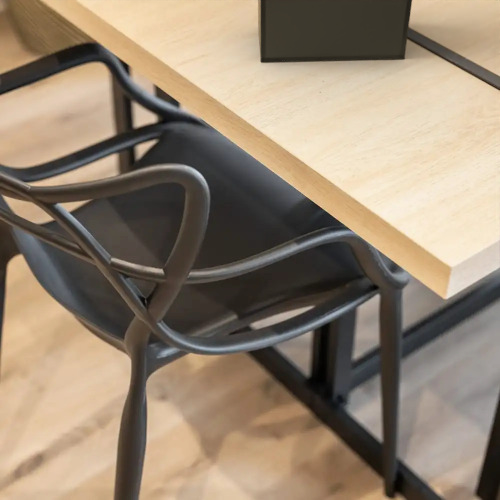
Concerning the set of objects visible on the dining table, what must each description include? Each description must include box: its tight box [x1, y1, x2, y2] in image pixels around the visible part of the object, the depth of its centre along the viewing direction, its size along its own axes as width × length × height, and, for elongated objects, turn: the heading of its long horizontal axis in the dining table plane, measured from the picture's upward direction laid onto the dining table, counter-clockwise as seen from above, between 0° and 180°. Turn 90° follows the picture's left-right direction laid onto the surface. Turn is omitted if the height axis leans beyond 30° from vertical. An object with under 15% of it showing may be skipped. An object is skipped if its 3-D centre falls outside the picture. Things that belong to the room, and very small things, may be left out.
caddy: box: [257, 0, 413, 63], centre depth 89 cm, size 16×8×8 cm, turn 91°
